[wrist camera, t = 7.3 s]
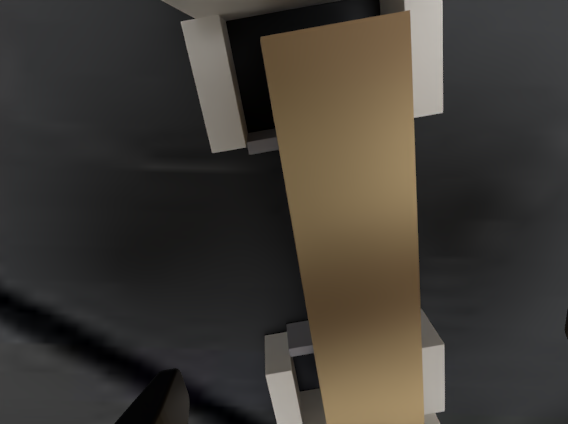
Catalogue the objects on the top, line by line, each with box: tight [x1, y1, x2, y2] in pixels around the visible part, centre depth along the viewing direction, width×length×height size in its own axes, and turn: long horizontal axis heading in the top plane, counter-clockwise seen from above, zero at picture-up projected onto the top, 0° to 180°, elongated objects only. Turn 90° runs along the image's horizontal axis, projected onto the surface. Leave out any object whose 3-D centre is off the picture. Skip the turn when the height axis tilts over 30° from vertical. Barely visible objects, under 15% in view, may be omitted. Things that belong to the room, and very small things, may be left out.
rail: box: [260, 10, 425, 424], centre depth 13 cm, size 14×3×5 cm, turn 9°
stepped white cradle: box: [161, 0, 445, 424], centre depth 12 cm, size 22×7×6 cm, turn 9°
